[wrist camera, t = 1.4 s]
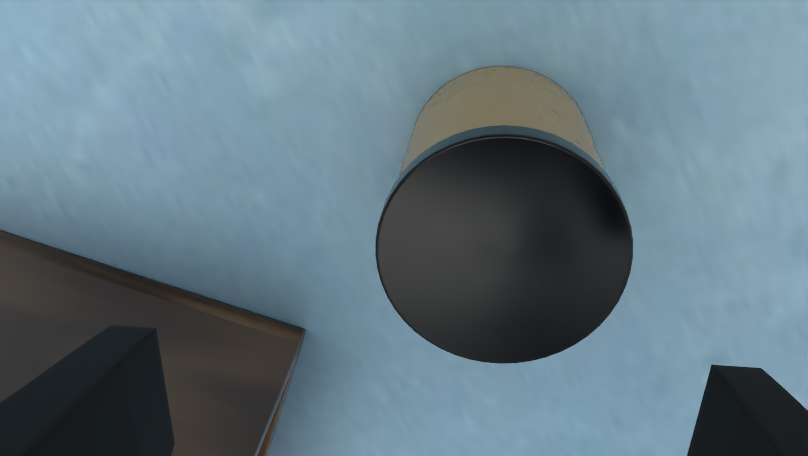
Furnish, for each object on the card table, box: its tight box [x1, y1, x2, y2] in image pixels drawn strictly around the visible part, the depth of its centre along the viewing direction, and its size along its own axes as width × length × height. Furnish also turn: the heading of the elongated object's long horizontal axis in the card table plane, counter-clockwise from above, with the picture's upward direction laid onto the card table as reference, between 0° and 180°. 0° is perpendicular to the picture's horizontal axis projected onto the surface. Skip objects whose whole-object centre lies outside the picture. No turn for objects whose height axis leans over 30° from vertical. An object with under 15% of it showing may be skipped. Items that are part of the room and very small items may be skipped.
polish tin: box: [376, 66, 633, 363], centre depth 16 cm, size 5×5×6 cm
